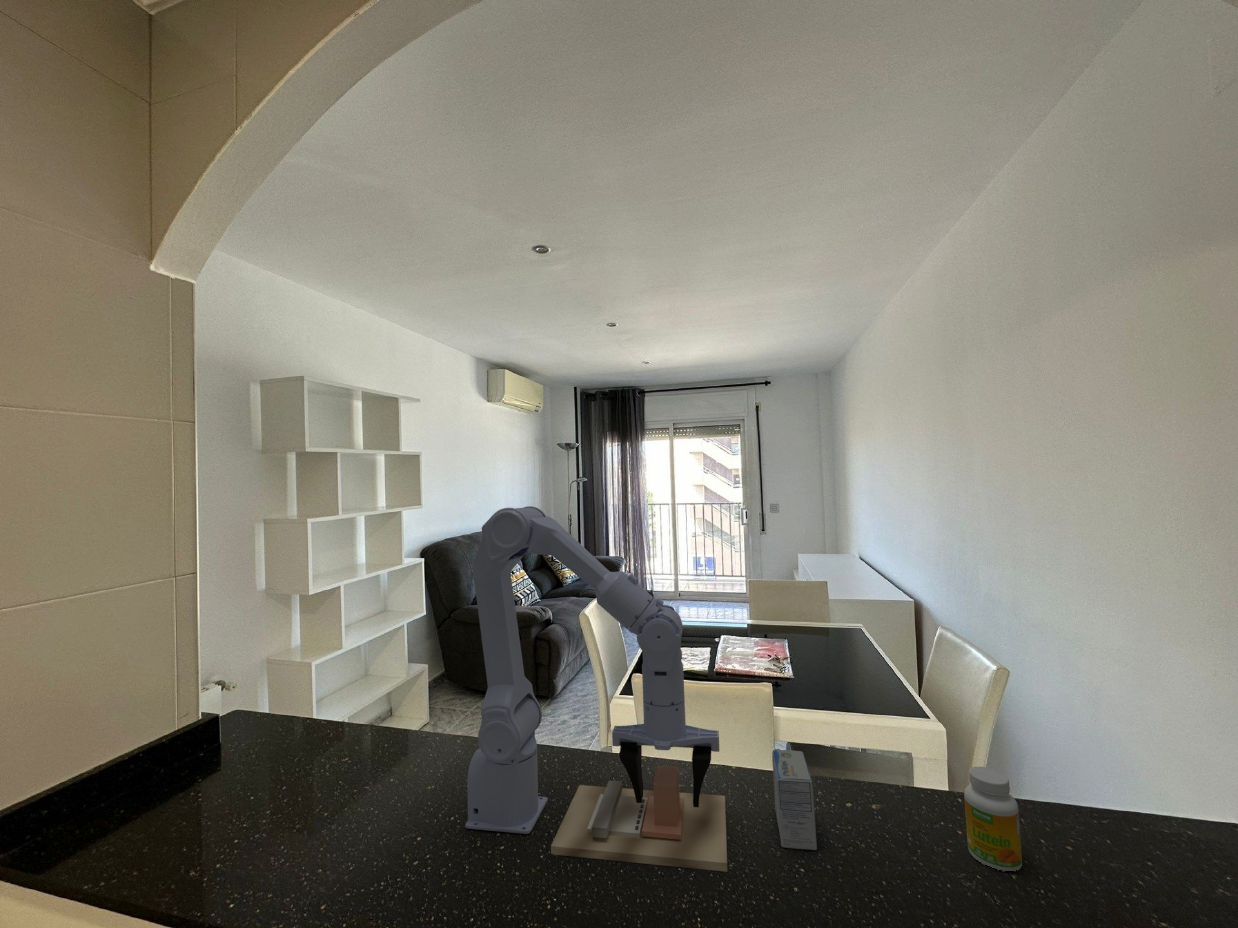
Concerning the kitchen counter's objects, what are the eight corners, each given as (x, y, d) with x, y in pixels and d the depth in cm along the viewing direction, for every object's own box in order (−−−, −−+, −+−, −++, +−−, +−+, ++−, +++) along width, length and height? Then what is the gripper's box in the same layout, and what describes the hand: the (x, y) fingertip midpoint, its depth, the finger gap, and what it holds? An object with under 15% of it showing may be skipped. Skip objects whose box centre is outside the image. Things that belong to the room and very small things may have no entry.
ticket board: (551, 853, 65) (550, 831, 66) (579, 791, 79) (579, 772, 79) (727, 871, 61) (726, 847, 62) (725, 802, 75) (724, 782, 75)
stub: (641, 835, 66) (640, 790, 67) (649, 799, 74) (648, 759, 75) (680, 839, 65) (679, 792, 66) (684, 802, 73) (682, 761, 74)
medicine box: (817, 852, 64) (813, 780, 65) (780, 848, 65) (777, 777, 66) (807, 814, 72) (804, 750, 73) (774, 811, 73) (771, 748, 73)
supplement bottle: (967, 862, 62) (961, 778, 62) (967, 837, 66) (962, 759, 67) (1024, 880, 59) (1017, 791, 59) (1020, 852, 63) (1014, 770, 64)
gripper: (606, 707, 68) (609, 814, 67) (717, 712, 66) (722, 823, 65) (616, 688, 75) (619, 784, 74) (717, 691, 72) (721, 791, 72)
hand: (667, 800), depth 70 cm, fingers open, 7 cm apart
